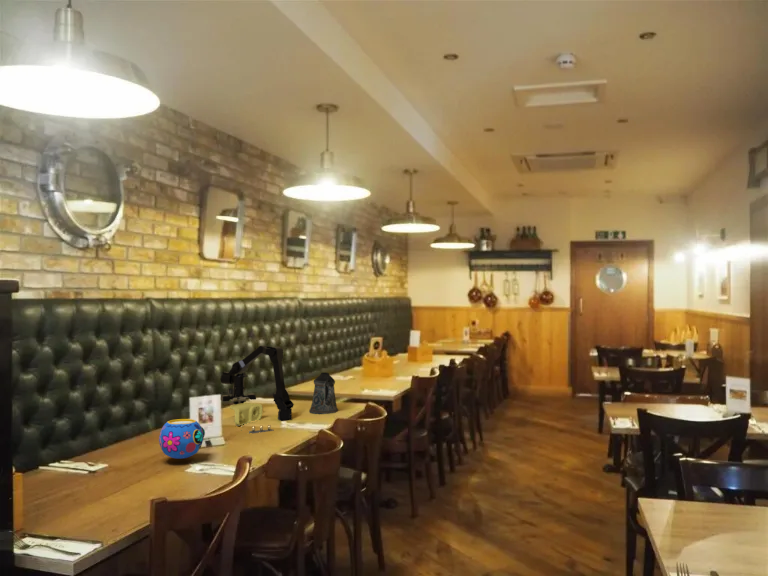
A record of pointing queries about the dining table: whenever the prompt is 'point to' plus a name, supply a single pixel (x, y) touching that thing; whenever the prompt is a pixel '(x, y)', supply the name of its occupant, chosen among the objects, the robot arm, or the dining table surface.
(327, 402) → the beer stein
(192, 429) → the ceramic pot
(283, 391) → the robot arm
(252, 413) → the plastic component
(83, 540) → the dining table surface
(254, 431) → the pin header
